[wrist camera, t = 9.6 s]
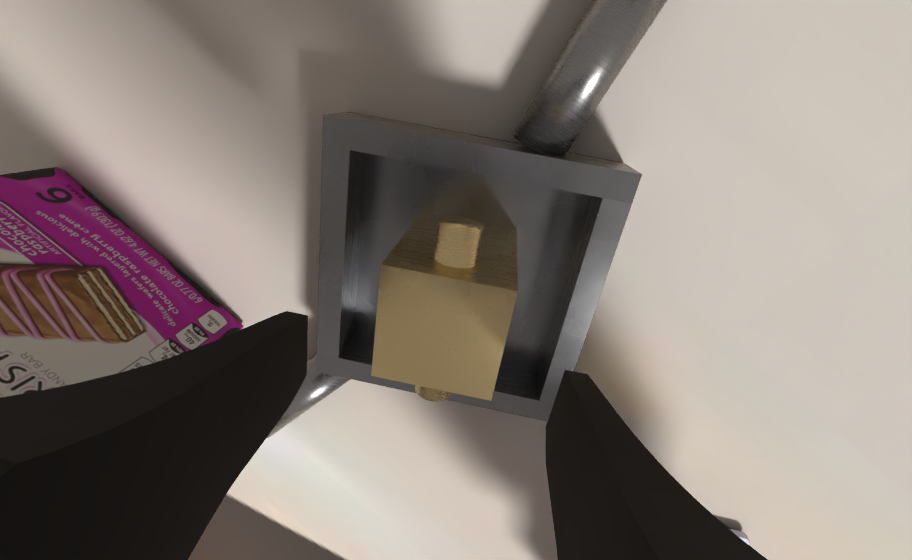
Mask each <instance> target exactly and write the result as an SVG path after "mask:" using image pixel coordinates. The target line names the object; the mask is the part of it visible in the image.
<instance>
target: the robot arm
mask: <svg viewBox="0 0 912 560" xmlns="http://www.w3.org/2000/svg"><path fill="white" fill-rule="evenodd" d="M307 325H308V316H307V315H302V314H297V313H293V312H288V311H286V312H283V313H280V314H278V315H275V316H272V317H270V318H268V319H265V320H263V321H261V322H258V323H256V324H254V325H251V326H249V327H247V328H244V329H242V330H240V331H237V332H235V333H232V334H230V335H228V336H225V337H223V338H221V339H218V340H216V341H213V342H210V343H208V344H205V345H203V346H200V347H197V348H195V349H192V350H189V351H187V352H184V353H182V354H179V355H176V356H173V357H170V358H167V359H164V360H161V361H158V362H155V363H152V364H148V365H145V366H142V367H138V368H135V369H132V370H128V371H124V372H121V373H117V374H113V375H109V376H104V377H100V378H96V379H92V380H88V381H84V382H79V383H75V384H71V385H66V386H62V387H56V388H51V389H46V390H41V391H36V392H30V393H24V394H19V395H13V396H7V397H1V398H0V560H188V558H189V556H190V555H191V553H192V551H193V549H194V548H195V546H196V544H197V542H198V541H199V539H200V537H201V535H202V534H203V532H204V530H205V528H206V527H207V525H208V523H209V522H210V520H211V518H212V517H213V515H214V513H215V512H216V510H217V508H218V507H219V505H220V503H221V502H222V500H223V498H224V497H225V495H226V493H227V492H228V490H229V489H230V487H231V486H232V484H233V483H234V481H235V480H236V478H237V477H238V475H239V474H240V473H241V471H242V470H243V469H244V467H245V466H246V465H247V463H248V462H249V461H250V459H251V458H252V456H253V455H254V454H255V452H256V451H257V450H258V448H259V447H260V446H261V444H262V443H263V442H264V440H265V439H266V438H267V436H268V435H269V434H270V432H271V431H272V430H273V428H274V427H275V426H276V424H277V423H278V421H279V420H280V419H281V417H282V416H283V415H284V413H285V412H286V410H287V409H288V408H289V406H290V405H291V403H292V401H293V399H294V398H295V396H296V394H297V392H298V390H299V389H300V387H301V385H302V383H303V381H304V379H305V377H306V375H307ZM546 467H547V476H548V484H549V492H550V499H551V507H552V514H553V522H554V530H555V537H556V545H557V555H558V560H767V559H766V558H765V557H763V556H762V555H761V554H759V553H758V552H757V551H756V550H754V549H753V548H752V547H751V546H749V543H750V541H749V539H748V537H747V535H746V534H745V533H744V532H741V531H737V530H733V529H729V528H728V527H726V526H725V525H724V524H723V523H722V522H721V521H719V520H718V519H717V518H716V517H715V516H714V515H712V514H711V513H710V512H709V511H708V510H707V509H706V508H705V507H703V506H702V505H701V504H700V503H699V502H698V501H697V500H696V499H695V498H694V497H693V496H692V495H691V494H690V493H689V492H687V491H686V490H685V489H684V488H683V487H682V486H681V485H680V484H679V483H678V482H677V481H676V480H675V479H674V478H673V477H672V476H671V475H670V474H669V473H668V472H667V471H666V470H665V469H664V468H663V466H662V465H661V464H660V463H659V462H658V461H657V460H656V459H655V458H654V457H653V455H652V454H651V453H650V452H649V451H648V450H647V449H646V448H645V446H644V445H643V444H642V443H641V442H640V441H639V440H638V438H637V437H636V436H635V435H634V434H633V432H632V431H631V430H630V429H629V427H628V426H627V425H626V424H625V422H624V421H623V420H622V419H621V417H620V416H619V415H618V414H617V412H616V411H615V410H614V408H613V407H612V406H611V404H610V403H609V402H608V400H607V399H606V398H605V397H604V395H603V394H602V393H601V391H600V390H599V389H598V387H597V386H596V385H595V383H594V382H593V381H592V379H591V378H590V377H589V376H588V374H583V373H578V372H574V371H569V370H565V371H564V374H563V377H562V380H561V383H560V386H559V389H558V392H557V395H556V398H555V401H554V404H553V407H552V410H551V413H550V416H549V419H548V422H547V425H546Z"/></svg>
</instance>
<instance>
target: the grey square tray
mask: <svg viewBox="0 0 912 560" xmlns="http://www.w3.org/2000/svg"><path fill="white" fill-rule="evenodd" d="M641 176H642V174H641V173H639V172H637V171H636V170H634V169H633V168H631V167H630V166H628V165H626V164H625V163H621V162H616V161H610V160H605V159H599V158H594V157H589V156H583V155H578V154H572V153H566V154H565V156H553V155H545V154H539V153H537V152H535V151H534V150H532V149H531V148H529V147H528V146H526V145H524V144H518V143H513V142H508V141H502V140H497V139H491V138H486V137H481V136H475V135H470V134H464V133H459V132H454V131H448V130H443V129H437V128H432V127H427V126H421V125H416V124H410V123H405V122H400V121H394V120H389V119H383V118H378V117H373V116H367V115H362V114H356V113H351V112H346V113H337V114H329V115H323V149H322V184H321V219H320V255H319V290H318V325H317V360H316V371H317V372H321V373H326V374H330V375H335V376H340V377H344V378H349V379H354V380H358V381H363V382H368V383H372V384H377V385H382V386H386V387H391V388H396V389H400V390H405V391H410V392H414V393H417V392H416V390H415V385H413V384H408V383H403V382H399V381H394V380H389V379H384V378H379V377H375V376H371V372H372V360H373V349H374V337H375V326H376V315H377V303H378V292H379V280H380V269H381V264H382V262H383V261H384V260H385V259H386V257H387V256H388V255H389V253H390V252H391V251H392V250H393V248H394V247H395V246H396V244H397V243H398V242H399V240H400V239H401V238H402V237H403V235H404V234H405V233H406V231H407V230H408V229H409V228H410V226H411V225H412V224H413V222H414V221H415V220H416V218H417V217H418V216H419V215H420V213H421V212H427V213H432V214H438V215H443V216H460V217H466V218H470V219H473V220H476V221H478V222H480V223H485V224H491V225H496V226H501V227H507V228H512V229H517V270H518V293H517V297H516V301H515V306H514V310H513V314H512V318H511V322H510V326H509V330H508V334H507V338H506V343H505V347H504V351H503V355H502V359H501V363H500V367H499V371H498V376H497V380H496V384H495V388H494V392H493V396H492V400H491V401H490V400H485V399H480V398H475V397H470V396H466V395H461V394H456V393H452V394H451V396H450V397H449V398H447V400H451V401H456V402H461V403H465V404H470V405H475V406H479V407H484V408H489V409H493V410H498V411H503V412H507V413H512V414H516V415H521V416H526V417H530V418H535V419H540V420H544V421H548V419H549V416H550V413H551V410H552V407H553V404H554V401H555V398H556V395H557V392H558V389H559V386H560V383H561V380H562V377H563V374H564V371H565V370H569V371H574V370H575V367H576V364H577V361H578V359H579V356H580V353H581V350H582V347H583V344H584V341H585V338H586V335H587V332H588V329H589V327H590V324H591V321H592V318H593V315H594V312H595V309H596V306H597V303H598V300H599V298H600V295H601V292H602V289H603V286H604V283H605V280H606V277H607V274H608V271H609V269H610V266H611V263H612V260H613V257H614V254H615V251H616V248H617V245H618V242H619V239H620V237H621V234H622V231H623V228H624V225H625V222H626V219H627V216H628V213H629V210H630V208H631V205H632V202H633V199H634V196H635V193H636V190H637V187H638V184H639V181H640V178H641Z"/></svg>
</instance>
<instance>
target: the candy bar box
mask: <svg viewBox="0 0 912 560" xmlns="http://www.w3.org/2000/svg"><path fill="white" fill-rule="evenodd" d="M242 328H243V325H242V324H241V323H240V322H239V321H238V320H236V319H235V318H234V317H233V316H232V315H230V314H229V313H228V312H227V311H226V310H225V309H224V308H222V307H221V306H220V305H219V304H217V303H216V302H215V301H214V300H213V299H212V298H210V297H209V296H208V295H207V294H206V293H205V292H203V291H202V290H201V289H200V288H199V287H197V286H196V285H195V284H194V283H193V282H192V281H190V280H189V279H188V278H187V277H186V276H185V275H183V274H182V273H181V272H180V271H179V270H178V269H176V268H175V267H174V266H173V265H172V264H171V263H169V262H168V261H167V260H166V259H165V258H164V257H163V256H161V255H160V254H159V253H158V252H157V251H156V250H154V249H153V248H152V247H151V246H150V245H149V244H147V243H146V242H145V241H144V240H143V239H142V238H140V237H139V236H138V235H137V234H136V233H134V232H133V231H132V230H131V229H130V228H129V227H127V226H126V225H125V224H124V223H123V222H122V221H121V220H119V219H118V218H117V217H116V216H115V215H114V214H113V213H111V212H110V211H109V210H108V209H107V208H106V207H104V206H103V205H102V204H101V203H100V202H99V201H97V200H96V199H95V198H94V197H93V196H92V195H91V194H90V193H88V192H87V191H86V190H85V189H84V188H82V187H81V186H80V185H79V184H78V183H77V182H75V181H74V180H73V179H72V178H71V177H70V176H69V175H67V174H66V173H65V172H64V171H63V170H62V169H60V168H58V167H54V168H47V169H39V170H32V171H25V172H19V173H11V174H5V175H0V398H1V397H7V396H13V395H19V394H24V393H30V392H36V391H41V390H46V389H51V388H56V387H62V386H66V385H71V384H75V383H79V382H84V381H88V380H92V379H96V378H100V377H104V376H109V375H113V374H117V373H121V372H124V371H128V370H132V369H135V368H138V367H142V366H145V365H148V364H152V363H155V362H158V361H161V360H164V359H167V358H170V357H173V356H176V355H179V354H182V353H184V352H187V351H189V350H192V349H195V348H197V347H200V346H203V345H205V344H208V343H210V342H213V341H216V340H218V339H221V338H223V337H225V336H228V335H230V334H232V333H235V332H237V331H240V330H242Z"/></svg>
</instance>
